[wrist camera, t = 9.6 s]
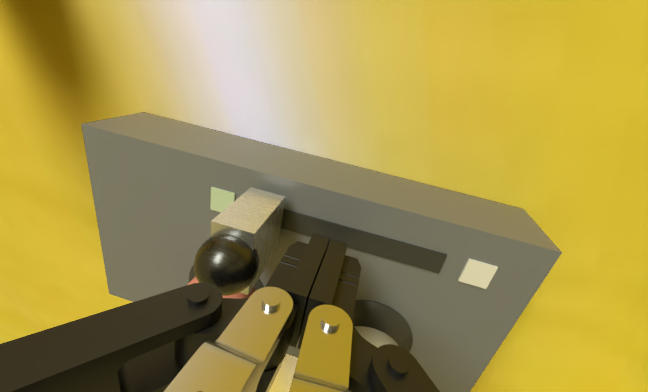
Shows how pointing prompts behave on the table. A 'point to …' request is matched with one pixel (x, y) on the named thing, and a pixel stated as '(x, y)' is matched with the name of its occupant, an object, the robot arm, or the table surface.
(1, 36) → the table surface
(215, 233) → the lever
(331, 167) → the panel
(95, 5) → the table surface
